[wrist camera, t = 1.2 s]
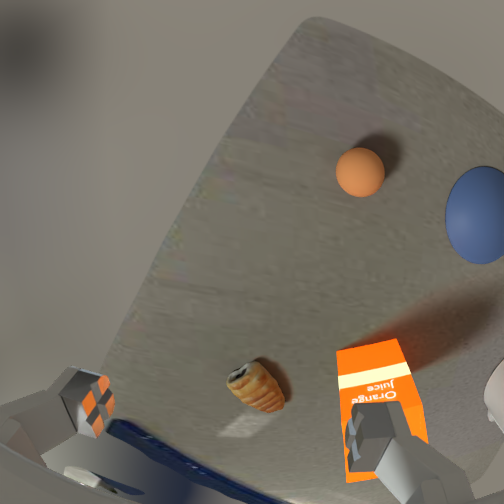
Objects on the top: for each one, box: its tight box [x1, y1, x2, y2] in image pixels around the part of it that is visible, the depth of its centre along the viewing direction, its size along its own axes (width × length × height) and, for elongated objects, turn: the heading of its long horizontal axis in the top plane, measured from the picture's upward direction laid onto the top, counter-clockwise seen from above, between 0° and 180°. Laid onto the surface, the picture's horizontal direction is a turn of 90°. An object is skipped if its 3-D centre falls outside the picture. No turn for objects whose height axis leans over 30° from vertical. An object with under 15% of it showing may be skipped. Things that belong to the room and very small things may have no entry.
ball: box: [336, 148, 385, 197], centre depth 34 cm, size 6×6×6 cm
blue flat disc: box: [445, 167, 504, 264], centre depth 34 cm, size 13×13×1 cm
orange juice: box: [336, 339, 428, 483], centre depth 33 cm, size 8×9×20 cm
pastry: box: [226, 361, 285, 413], centre depth 45 cm, size 9×7×4 cm
